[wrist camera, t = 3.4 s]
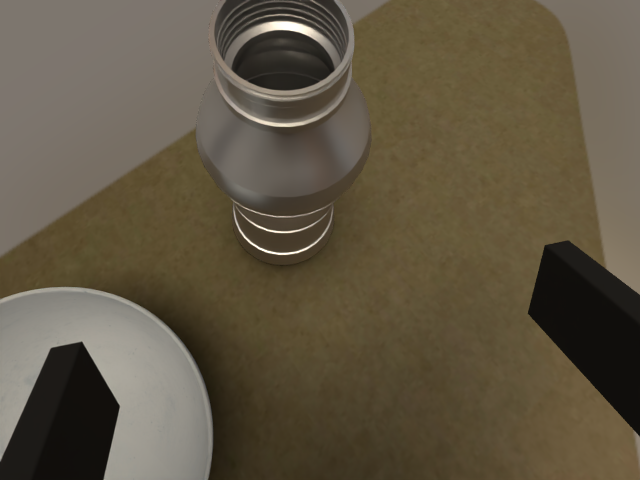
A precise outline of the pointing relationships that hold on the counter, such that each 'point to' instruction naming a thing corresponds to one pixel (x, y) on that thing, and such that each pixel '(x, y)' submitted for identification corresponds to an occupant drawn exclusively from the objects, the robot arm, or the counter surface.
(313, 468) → the counter surface
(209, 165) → the metal bottle
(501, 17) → the counter surface
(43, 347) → the chinaware
